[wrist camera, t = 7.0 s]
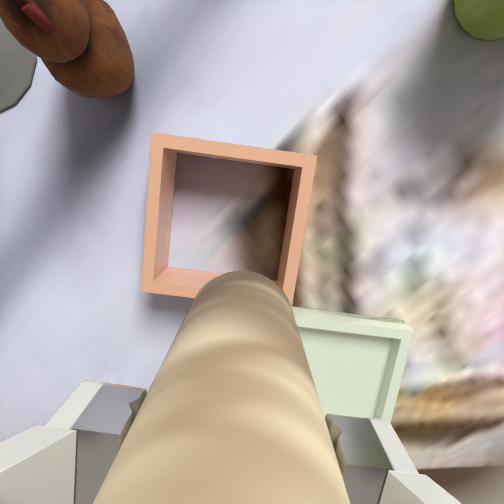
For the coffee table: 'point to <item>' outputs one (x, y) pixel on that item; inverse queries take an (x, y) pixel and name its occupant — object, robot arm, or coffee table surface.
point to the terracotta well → (161, 204)
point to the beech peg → (230, 410)
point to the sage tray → (354, 360)
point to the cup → (13, 68)
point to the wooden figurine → (74, 43)
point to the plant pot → (481, 18)
